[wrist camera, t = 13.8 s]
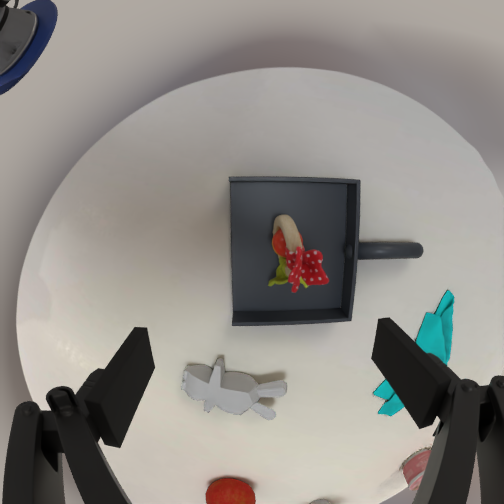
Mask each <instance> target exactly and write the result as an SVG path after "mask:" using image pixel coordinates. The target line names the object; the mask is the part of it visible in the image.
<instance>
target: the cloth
mask: <svg viewBox="0 0 504 504" xmlns="http://www.w3.org/2000/svg"><path fill="white" fill-rule="evenodd" d="M453 304H454V296H453V294H452V293H451V292H450V291H449V290H447V292H446V293H445V295H444V296H443V298H442V300H441V302H440V304H439V306H438V309H437V311H436V313H435V314H431V313H426V315H425V318H424V321H423V323H422V326H421V328H420V331H419V334H418V337H417V340H416V344H417V345H418V346H420V347H421V348H422V349H423V350H424V351H425V352H426V353H432V354H434V355H436V356H438V357H439V358H440V359H441V360H442V361H443V363H445V364H446V365H447V362H448V361H449V359H450V352H451V344H452V331H453V324H452V315H453ZM373 394H374V395H376V396H378V397H381V398H383V399H388V400H390V401H387V402H385V403H384V405H383V406H382V408H381V409H380V410H379V412H378V414H387V415H389V416H392V415H394V414H395V413H397V412H398V411H400V410H401V409H402V408H403V407H405V406H404V405H403V403H402V402H401V400H400V399H399V397H398V396H397V395H396V393H395V392H394V390H393V389H392V387H391V386H390V384H389V383H388V381H387V380H385V381H384V382H383V383H382V384H381V385H380V386H379V387H378V388H377V389H376V390H375V391H374V392H373Z"/></svg>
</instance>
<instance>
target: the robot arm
mask: <svg viewBox="0 0 504 504" xmlns="http://www.w3.org/2000/svg"><path fill="white" fill-rule="evenodd" d="M9 1H10V0H0V77H1V76H3V75H5V74H7V73H8V72H9V71H10V70H11V69H13V68H14V67H15V66H16V64H17V63H18V62H19V61H20V60H21V59H22V57H23V56H24V55H25V53H26V52H27V50H28V49H29V47H30V46H31V44H32V42H33V40H34V38H35V36H36V33H37V31H38V27H39V17H38V15H37V14H35V13H34V12H32V11H30V10H24V9H17V6H18V1H19V0H15V5H14V8H9V7H8V6H6V4H7V3H8V2H9ZM371 359H372V360H373V361H374V363H375V364H376V366H377V367H378V369H379V370H380V371H381V373H382V374H383V376H384V377H385V379H386V380H387V381H388V383H389V384H390V386H391V387H392V389H393V390H394V392H395V393H396V395H397V396H398V397H399V399H400V400H401V402H402V403H403V405H404V406H405V408H406V409H407V411H408V412H409V414H410V415H411V417H412V418H413V420H414V421H415V423H416V424H417V426H418V427H419V429H421V428H424V427H427V426H430V425H432V424H433V422H434V420H435V418H436V416H438V417H439V419H440V422H439V424H438V426H437V428H436V430H435V432H434V434H433V436H435V439H434V442H433V446H432V449H431V453H430V456H429V459H428V463H427V466H426V469H425V472H424V474H423V477H422V480H421V483H420V486H419V488H418V491H417V493H416V496H415V498H414V501H413V503H412V504H466V501H467V497H468V493H469V488H470V484H471V479H472V473H473V468H474V462H475V455H476V452H477V459H478V467H479V477H480V488H481V504H504V376H499V375H498V376H494V377H493V378H492V380H491V382H490V384H489V385H486V386H479V385H478V384H477V383H476V382H475V381H473V380H470V379H462V380H461V379H460V378H459V377H458V376H457V375H456V374H455V373H454V372H453V371H452V370H451V369H450V368H449V367H447V365H446V364H445V363H443V361H442V360H441V359H440V358H439V357H438V356H436V355H434V354H432V353H426V352H425V351H424V350H423V349H422V348H421V347H420V346H418V345H417V344H416V343H415V342H414V341H413V340H412V339H411V338H410V337H409V336H408V335H407V334H406V333H405V332H404V331H403V330H402V329H401V328H400V327H399V326H398V325H397V324H396V323H395V322H394V321H393V320H392V319H391V318H390V317H389V318H381V319H378V324H377V330H376V336H375V342H374V347H373V352H372V357H371ZM154 369H155V365H154V361H153V356H152V351H151V346H150V341H149V336H148V330H147V328H144V327H134V329H133V330H132V331H131V333H130V334H129V336H128V337H127V338H126V340H125V341H124V343H123V344H122V345H121V347H120V348H119V350H118V351H117V352H116V354H115V355H114V357H113V358H112V359H111V361H110V362H109V364H108V365H107V367H106V368H105V369H99V368H98V369H97V370H95V371H94V372H92V373H91V374H90V375H89V377H88V378H87V379H86V381H85V382H84V383H83V386H81V388H80V389H79V390H78V392H77V393H76V394H74V392H73V390H72V389H71V388H69V387H65V386H60V387H56V388H53V389H52V390H50V391H49V392H48V393H47V395H46V400H47V402H48V404H49V406H50V408H51V410H52V411H42V410H40V408H39V406H38V405H37V403H35V402H31V401H27V402H23V403H21V404H20V405H18V406H17V408H16V410H15V414H14V418H13V422H12V427H11V432H10V437H9V443H8V449H7V457H6V463H5V473H4V482H3V483H4V484H3V499H2V504H65V497H64V485H63V469H62V453H65V456H66V459H67V462H68V464H69V467H70V470H71V472H72V475H73V478H74V480H75V483H76V485H77V488H78V490H79V492H80V494H81V496H82V499H83V501H84V503H85V504H132V503H131V501H130V500H129V498H128V497H127V495H126V493H125V492H124V490H123V489H122V487H121V485H120V483H119V482H118V480H117V478H116V477H115V475H114V473H113V471H112V469H111V467H110V466H109V464H108V462H107V460H106V458H105V456H104V454H103V452H102V450H101V448H100V446H99V444H98V441H99V439H100V437H101V438H102V440H103V442H104V444H105V445H108V446H113V447H118V448H120V447H121V445H122V443H123V440H124V438H125V435H126V433H127V431H128V428H129V426H130V424H131V421H132V419H133V416H134V414H135V412H136V410H137V407H138V405H139V403H140V400H141V398H142V396H143V394H144V391H145V389H146V387H147V385H148V382H149V380H150V378H151V376H152V373H153V371H154Z"/></svg>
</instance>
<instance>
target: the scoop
mask: <svg viewBox="0 0 504 504" xmlns="http://www.w3.org/2000/svg"><path fill="white" fill-rule="evenodd" d="M229 181H230V196H231V256H232V295H233V317H232V326H266V325H295V324H315V323H331V322H345V321H351V319H352V311H353V303H354V294H355V284H356V273H357V260H365V259H408V258H419V257H421V256H422V254H423V247H422V245H421V244H420V243H404V242H359V225H360V180H355V179H338V178H315V177H229ZM346 212H347V223H346ZM279 215H288V216H290V217H291V218H292V219H293V221H294V223H295V225H296V227H297V229H298V232H299V233H300V234H301V236H302V239H303V246H304V249H305V252H306V251H309V250H313V249H314V250H317V251H320V252H321V253H322V255H323V260H322V263H321V266H322V269H323V270H324V272H325V273H326V275H327V277H328V278H329V282H328V283H327V284H325V285H309V286H308V287H307V288H305V287H304V285H303V284H301V283H300V285H299V288H298V290H297V292H296V293H293V292H292V286H293V284H292V283H289V282H287V283H285V284H276V283H275V284H274V285H272V286H268V284H269V281H270V280H271V279H273V278H275V277H276V270H277V268H278V266H279V265H280V263H279V258H278V254H276V252H275V251H274V249H273V246H272V239H273V229H274V221H275V219H276V217H277V216H279ZM345 240H346V246H345ZM344 258H345V263H344ZM343 273H344V277H343ZM342 285H343V289H342ZM341 296H342V300H341ZM340 307H341V308H340Z"/></svg>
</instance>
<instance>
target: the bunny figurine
mask: <svg viewBox="0 0 504 504" xmlns="http://www.w3.org/2000/svg"><path fill="white" fill-rule="evenodd" d="M181 390H184V391H185V392H186V393H187V395H188V396H189V397H191V398H192V399H193V400H197V401H201V400H205V402H204V411H206V412H208V413H209V412H210V410H211V409H212V408H213V407H214V406H215V405H216V406H217V407H218V408H220V409H221V410H223V411H225V412H228V413H231V414H235V415H241V414H243V413H244V412H245V411H247V410H248V409H249V408H250V409H252V410H253V411H255V412H256V413H258V414H259V415H260V416H262V417H263V418H265V419H267V420H272V419H274V418H275V417H276V412H275V411H274V410H272V409H270V408H268V407H266V406H264V405H262V404H260V403H258V401H259V399H260V397H282V396H284V395H285V394H286V391H287V383H286V382H285V381H282V380H278V381H273V382H268V383H263V384H258V383H257V382H256V381H255V380H254V379H253V378H252V377H251V376H249V375H247V374H243V373H239V372H226V373H225V368H224V361H223V359H217V362H216V364H215V367H214V370H212V369H211V368H210V367H208V366H206V365H194V366H188V365H187V366H186V368H185V370H184V375H183V381H182V386H181Z"/></svg>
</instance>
